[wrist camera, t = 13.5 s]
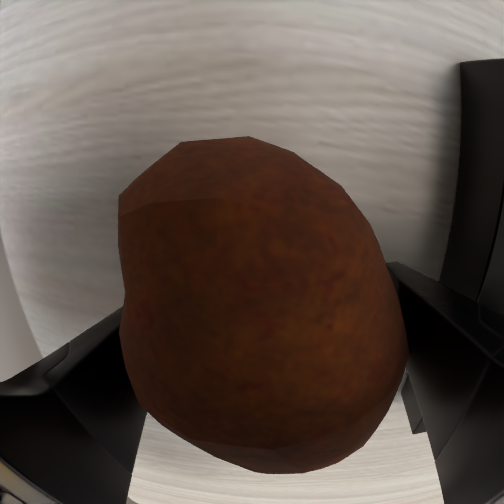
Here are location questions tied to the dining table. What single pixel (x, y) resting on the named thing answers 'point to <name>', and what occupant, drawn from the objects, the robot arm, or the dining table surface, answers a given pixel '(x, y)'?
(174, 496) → the dining table surface
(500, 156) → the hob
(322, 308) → the potato
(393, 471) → the dining table surface
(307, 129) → the dining table surface
